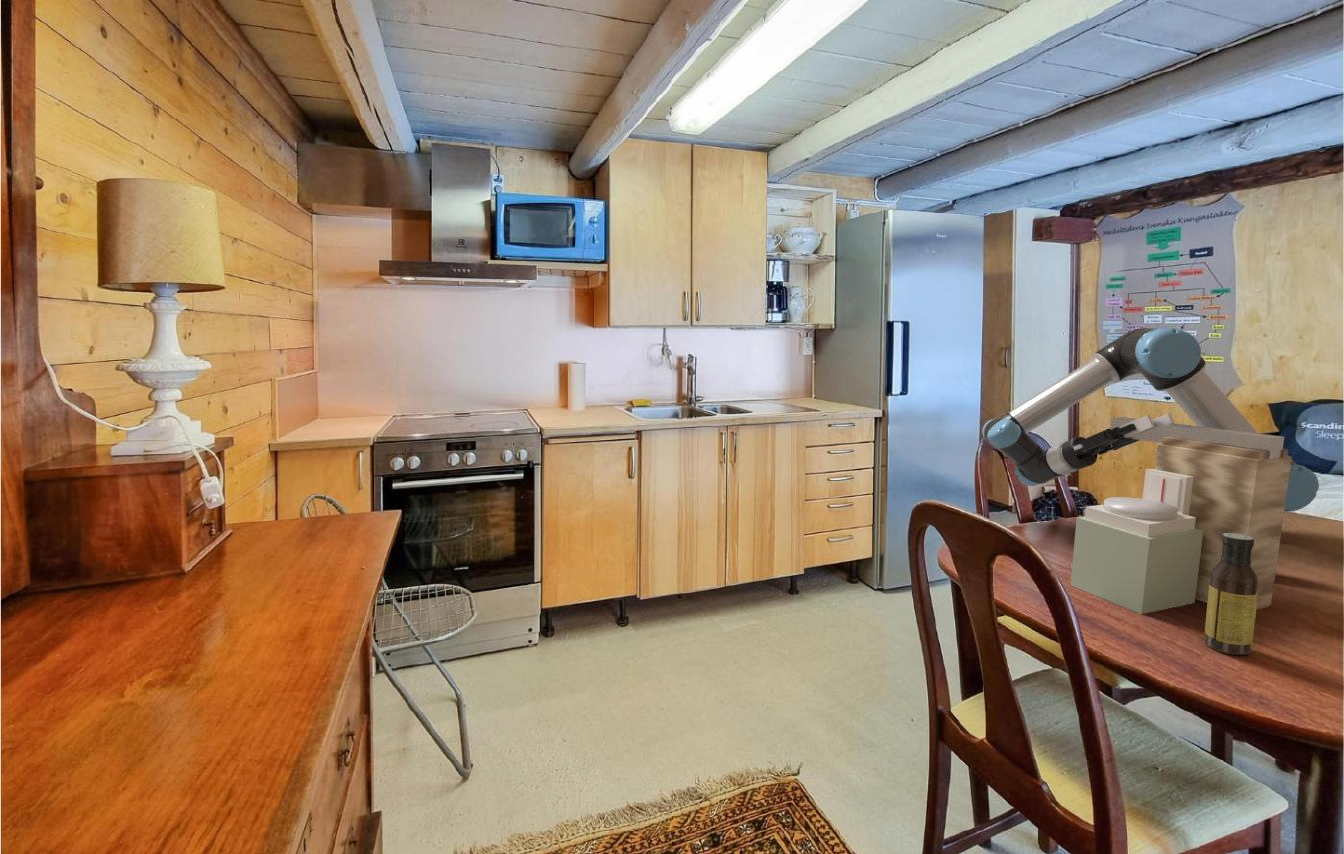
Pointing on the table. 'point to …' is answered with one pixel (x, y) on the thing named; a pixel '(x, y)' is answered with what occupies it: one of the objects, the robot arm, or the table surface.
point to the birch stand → (1232, 503)
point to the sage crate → (1136, 566)
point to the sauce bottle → (1232, 598)
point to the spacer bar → (1207, 436)
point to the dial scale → (1150, 506)
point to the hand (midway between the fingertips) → (1161, 420)
